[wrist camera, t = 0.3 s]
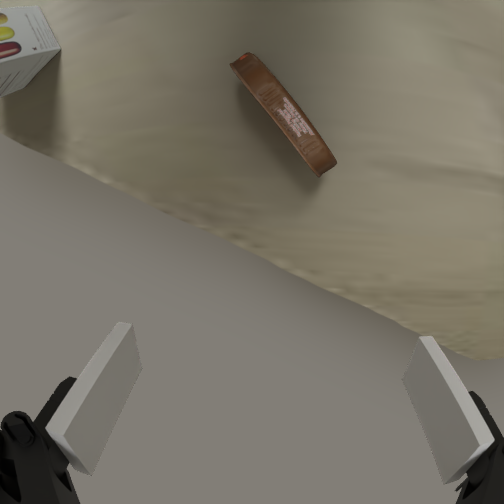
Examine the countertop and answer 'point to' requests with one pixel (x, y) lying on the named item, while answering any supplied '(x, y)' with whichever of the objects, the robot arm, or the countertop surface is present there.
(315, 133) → the tin
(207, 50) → the countertop surface
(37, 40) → the supplement box
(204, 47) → the countertop surface
